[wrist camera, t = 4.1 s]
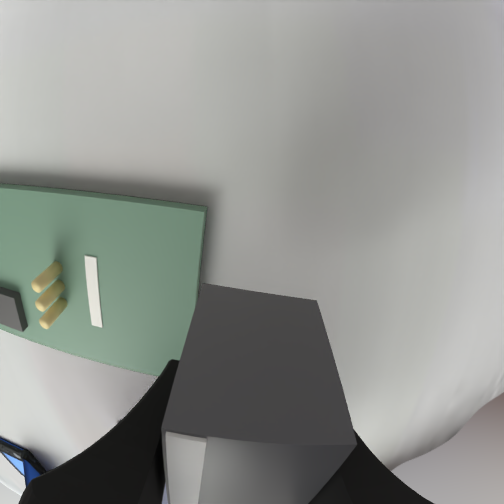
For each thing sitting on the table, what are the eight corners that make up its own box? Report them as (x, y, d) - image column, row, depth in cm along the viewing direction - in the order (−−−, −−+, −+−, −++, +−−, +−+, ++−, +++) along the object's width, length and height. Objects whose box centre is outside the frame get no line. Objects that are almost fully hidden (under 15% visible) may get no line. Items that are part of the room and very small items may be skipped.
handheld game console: (-10, 430, 31) (-32, 469, 22) (50, 456, 31) (29, 504, 22) (31, 477, 37) (16, 511, 29) (87, 498, 37) (75, 538, 29)
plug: (279, 408, 13) (286, 528, 8) (191, 397, 13) (168, 517, 8) (316, 300, 11) (358, 447, 5) (202, 282, 11) (160, 431, 5)
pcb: (192, 372, 21) (183, 409, 18) (-3, 319, 20) (-25, 341, 17) (207, 206, 17) (195, 228, 13) (-28, 181, 16) (-60, 194, 12)
